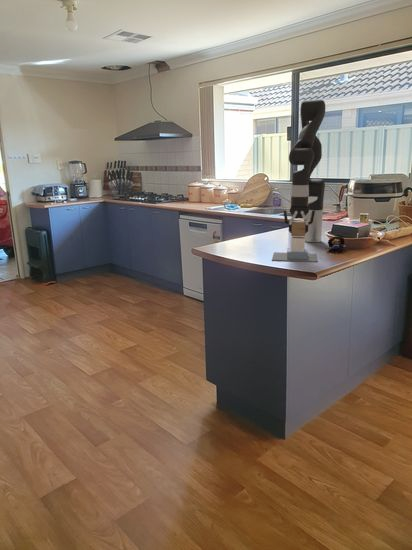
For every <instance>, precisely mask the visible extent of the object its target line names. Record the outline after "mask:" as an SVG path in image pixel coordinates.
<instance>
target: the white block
mask: <svg viewBox="0 0 412 550" xmlns="http://www.w3.org/2000/svg"><path fill="white" fill-rule="evenodd" d="M290 236H291V235H290ZM305 246H306V241H305V237H304V236H291V237H290V248H291V251H294V252H304V249H306V247H305Z"/></svg>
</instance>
